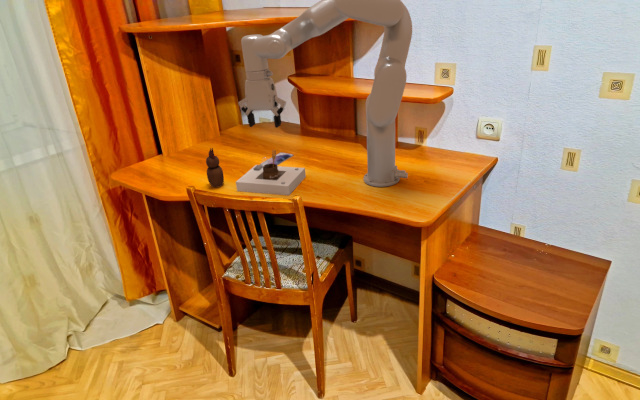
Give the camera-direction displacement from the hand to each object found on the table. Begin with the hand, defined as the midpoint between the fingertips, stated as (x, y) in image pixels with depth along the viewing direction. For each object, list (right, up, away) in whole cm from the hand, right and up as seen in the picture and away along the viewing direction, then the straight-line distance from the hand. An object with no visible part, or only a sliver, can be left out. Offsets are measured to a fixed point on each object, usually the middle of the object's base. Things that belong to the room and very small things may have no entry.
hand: (265, 126), depth 155 cm
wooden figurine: (-19, -20, +12) cm, 30 cm away
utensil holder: (+2, -20, +10) cm, 22 cm away
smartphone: (+1, -10, +31) cm, 32 cm away
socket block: (+1, -19, +10) cm, 22 cm away
